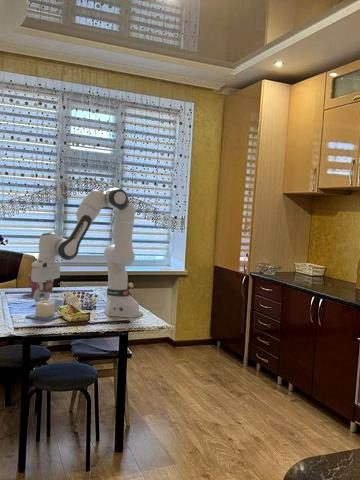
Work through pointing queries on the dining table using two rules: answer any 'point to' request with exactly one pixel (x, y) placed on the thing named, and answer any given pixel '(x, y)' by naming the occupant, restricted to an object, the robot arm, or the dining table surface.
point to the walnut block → (46, 286)
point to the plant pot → (34, 285)
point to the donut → (38, 299)
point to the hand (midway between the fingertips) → (45, 288)
